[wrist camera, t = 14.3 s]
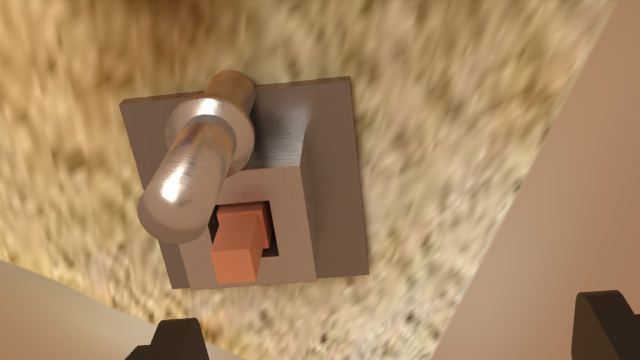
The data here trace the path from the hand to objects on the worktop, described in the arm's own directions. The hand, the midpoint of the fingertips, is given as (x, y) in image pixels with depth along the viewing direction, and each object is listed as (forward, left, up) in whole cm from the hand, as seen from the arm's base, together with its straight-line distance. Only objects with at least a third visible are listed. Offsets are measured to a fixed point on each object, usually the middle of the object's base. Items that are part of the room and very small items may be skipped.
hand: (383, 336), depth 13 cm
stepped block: (+12, -9, -29) cm, 33 cm away
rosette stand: (+11, -9, -30) cm, 33 cm away
